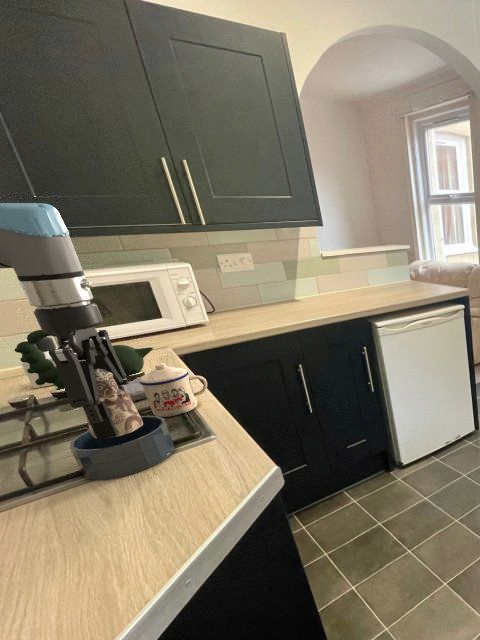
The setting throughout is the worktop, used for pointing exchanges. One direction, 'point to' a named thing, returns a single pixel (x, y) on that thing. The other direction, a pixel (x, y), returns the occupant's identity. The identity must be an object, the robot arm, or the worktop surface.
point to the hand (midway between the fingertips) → (117, 427)
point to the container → (45, 347)
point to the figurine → (116, 404)
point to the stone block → (135, 389)
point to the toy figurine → (49, 373)
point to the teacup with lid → (170, 390)
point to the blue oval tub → (123, 450)
